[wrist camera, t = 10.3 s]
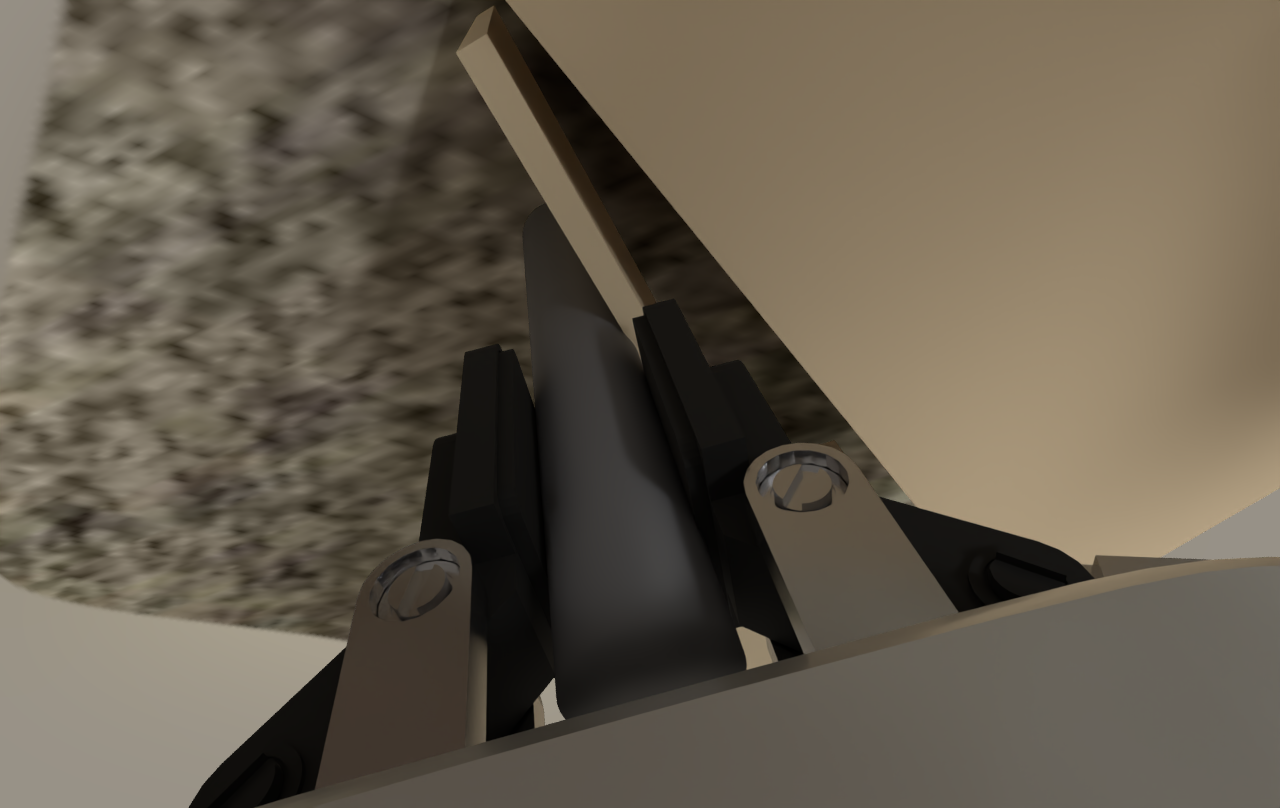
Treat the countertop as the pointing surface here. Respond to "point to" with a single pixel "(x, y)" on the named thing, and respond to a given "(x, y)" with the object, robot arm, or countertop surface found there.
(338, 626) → the countertop surface
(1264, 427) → the wooden cabinet
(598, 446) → the flap
